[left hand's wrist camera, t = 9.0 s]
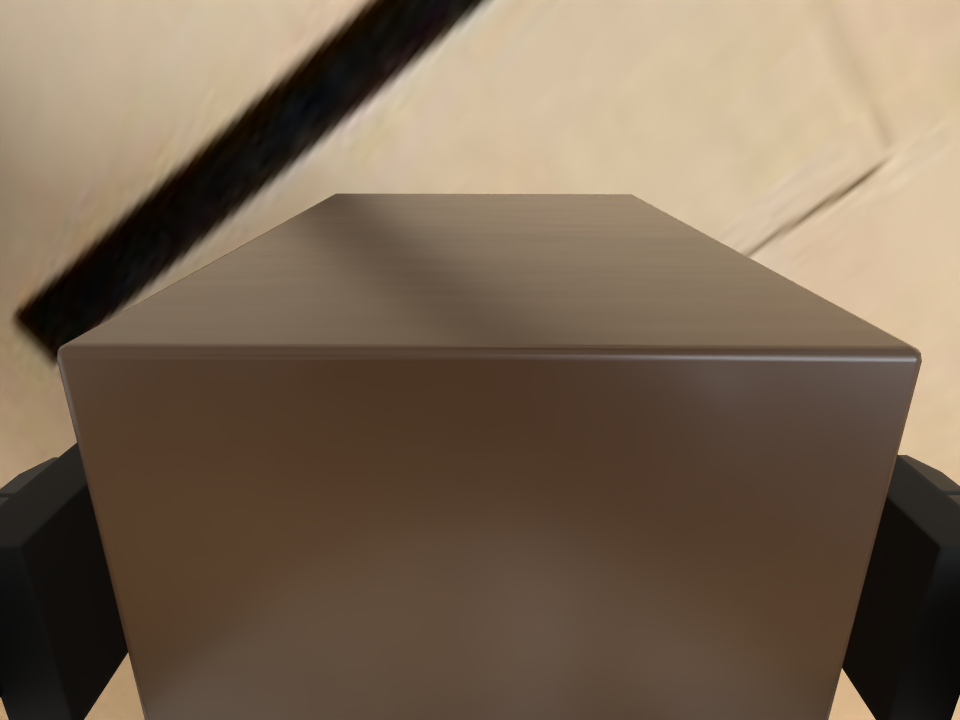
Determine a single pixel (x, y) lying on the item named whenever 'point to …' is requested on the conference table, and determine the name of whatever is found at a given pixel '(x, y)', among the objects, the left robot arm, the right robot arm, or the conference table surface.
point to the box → (487, 469)
